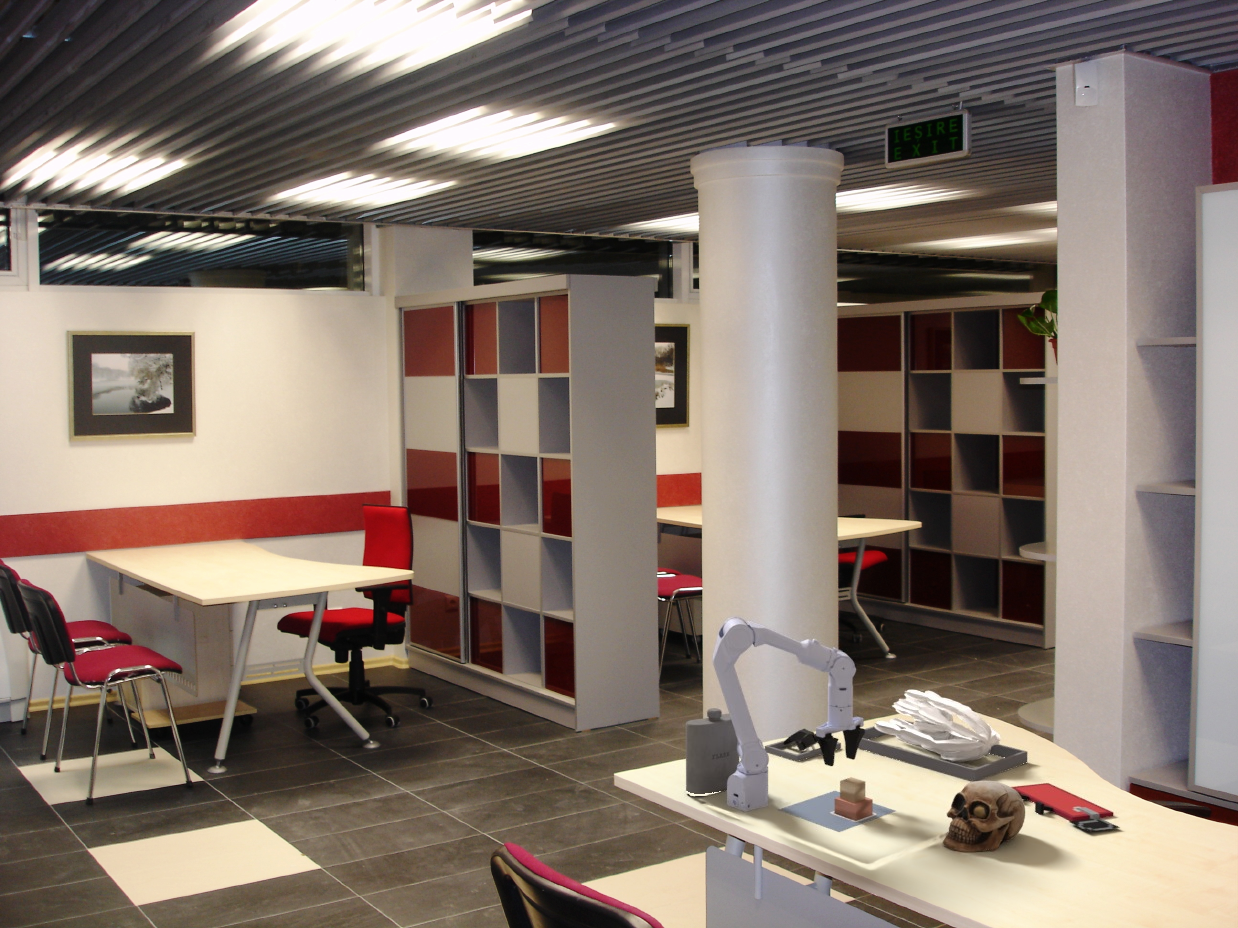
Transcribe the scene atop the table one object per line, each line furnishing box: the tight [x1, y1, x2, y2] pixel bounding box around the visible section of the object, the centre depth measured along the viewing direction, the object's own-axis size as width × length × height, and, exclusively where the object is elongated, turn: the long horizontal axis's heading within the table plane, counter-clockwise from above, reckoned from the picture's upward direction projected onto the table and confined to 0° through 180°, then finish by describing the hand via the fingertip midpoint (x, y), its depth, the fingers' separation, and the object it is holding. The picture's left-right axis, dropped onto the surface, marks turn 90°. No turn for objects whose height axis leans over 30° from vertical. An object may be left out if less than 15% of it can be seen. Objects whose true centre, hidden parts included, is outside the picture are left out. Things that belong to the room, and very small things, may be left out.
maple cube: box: [839, 776, 866, 803], centre depth 264 cm, size 4×4×4 cm
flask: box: [685, 707, 740, 794], centre depth 283 cm, size 15×6×20 cm, turn 122°
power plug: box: [783, 728, 818, 752], centre depth 316 cm, size 6×8×12 cm
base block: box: [835, 796, 874, 821], centre depth 265 cm, size 6×6×4 cm
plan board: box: [777, 790, 896, 833], centre depth 267 cm, size 20×18×1 cm
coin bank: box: [942, 780, 1026, 853], centre depth 251 cm, size 16×17×13 cm
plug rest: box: [764, 739, 842, 762], centre depth 316 cm, size 18×12×2 cm, turn 129°
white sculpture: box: [874, 689, 1001, 763], centre depth 313 cm, size 17×18×35 cm
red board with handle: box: [1010, 782, 1121, 832], centre depth 270 cm, size 30×3×15 cm
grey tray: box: [858, 719, 1028, 782], centre depth 312 cm, size 24×41×3 cm, turn 39°
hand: (839, 761), depth 272 cm, fingers open, 7 cm apart
